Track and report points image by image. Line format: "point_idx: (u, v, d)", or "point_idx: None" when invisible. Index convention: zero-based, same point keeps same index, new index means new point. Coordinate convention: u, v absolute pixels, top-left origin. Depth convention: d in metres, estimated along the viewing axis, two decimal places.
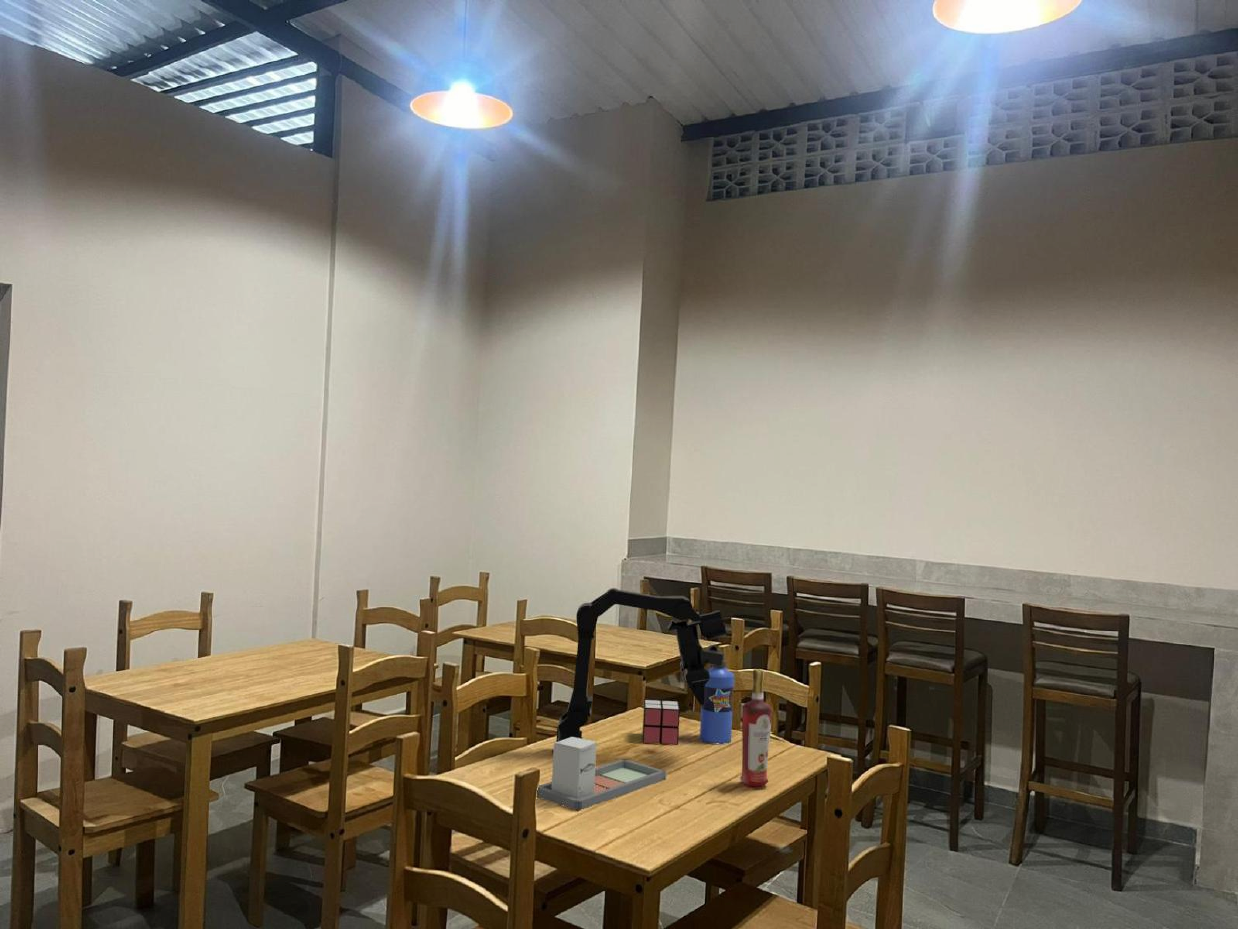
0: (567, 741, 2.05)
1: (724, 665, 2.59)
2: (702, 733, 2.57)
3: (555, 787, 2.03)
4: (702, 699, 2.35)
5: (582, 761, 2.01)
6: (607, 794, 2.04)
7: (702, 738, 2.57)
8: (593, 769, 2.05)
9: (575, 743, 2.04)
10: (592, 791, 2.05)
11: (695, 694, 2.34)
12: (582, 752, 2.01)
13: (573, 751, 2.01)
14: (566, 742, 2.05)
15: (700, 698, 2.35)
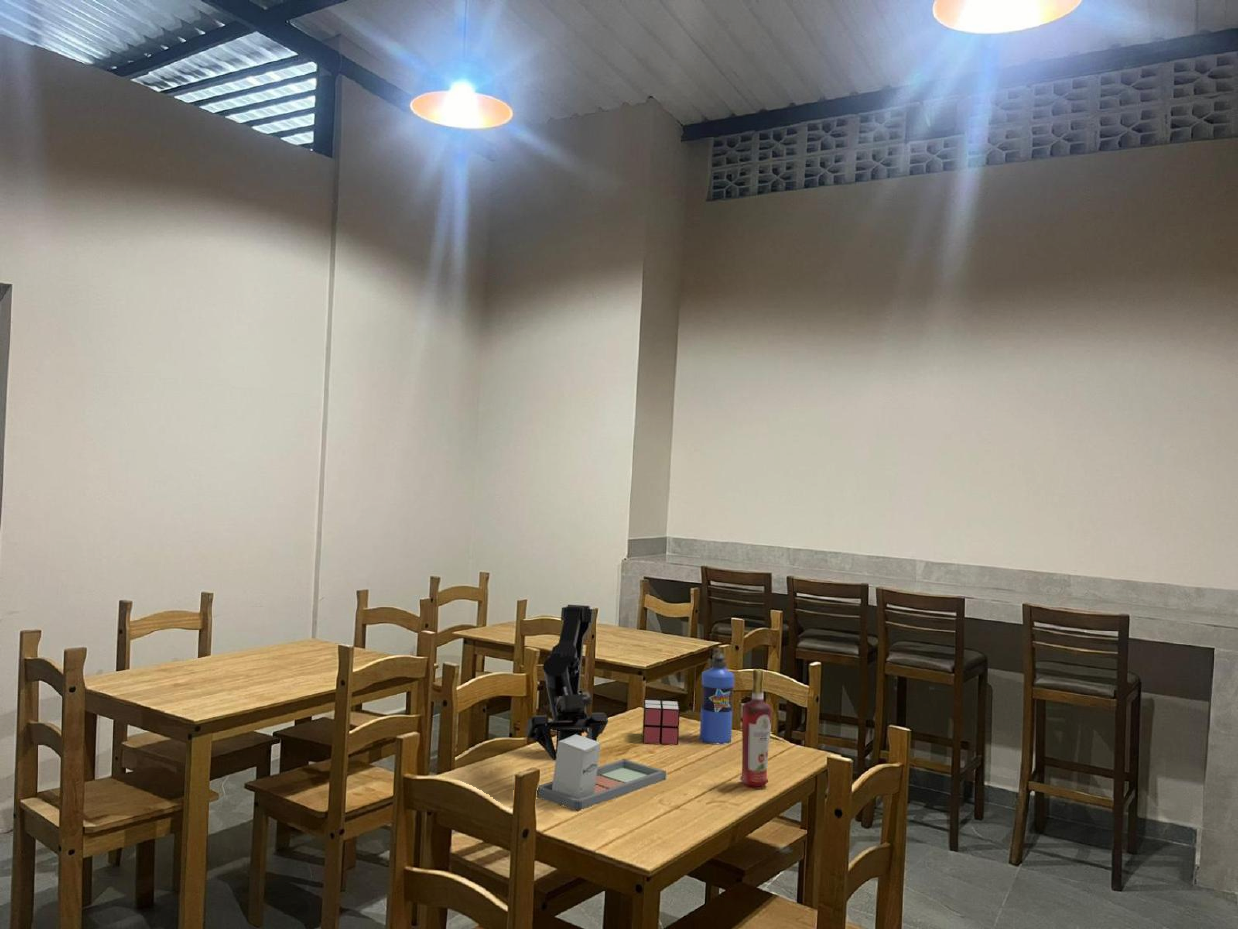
0: (571, 740, 2.04)
1: (724, 665, 2.59)
2: (702, 733, 2.57)
3: (556, 785, 2.03)
4: (551, 752, 2.04)
5: (586, 762, 2.01)
6: (607, 794, 2.04)
7: (702, 738, 2.57)
8: (595, 769, 2.05)
9: (579, 744, 2.03)
10: (592, 790, 2.05)
11: (546, 749, 2.06)
12: (586, 754, 2.00)
13: (577, 752, 2.00)
14: (570, 741, 2.04)
15: (550, 752, 2.04)
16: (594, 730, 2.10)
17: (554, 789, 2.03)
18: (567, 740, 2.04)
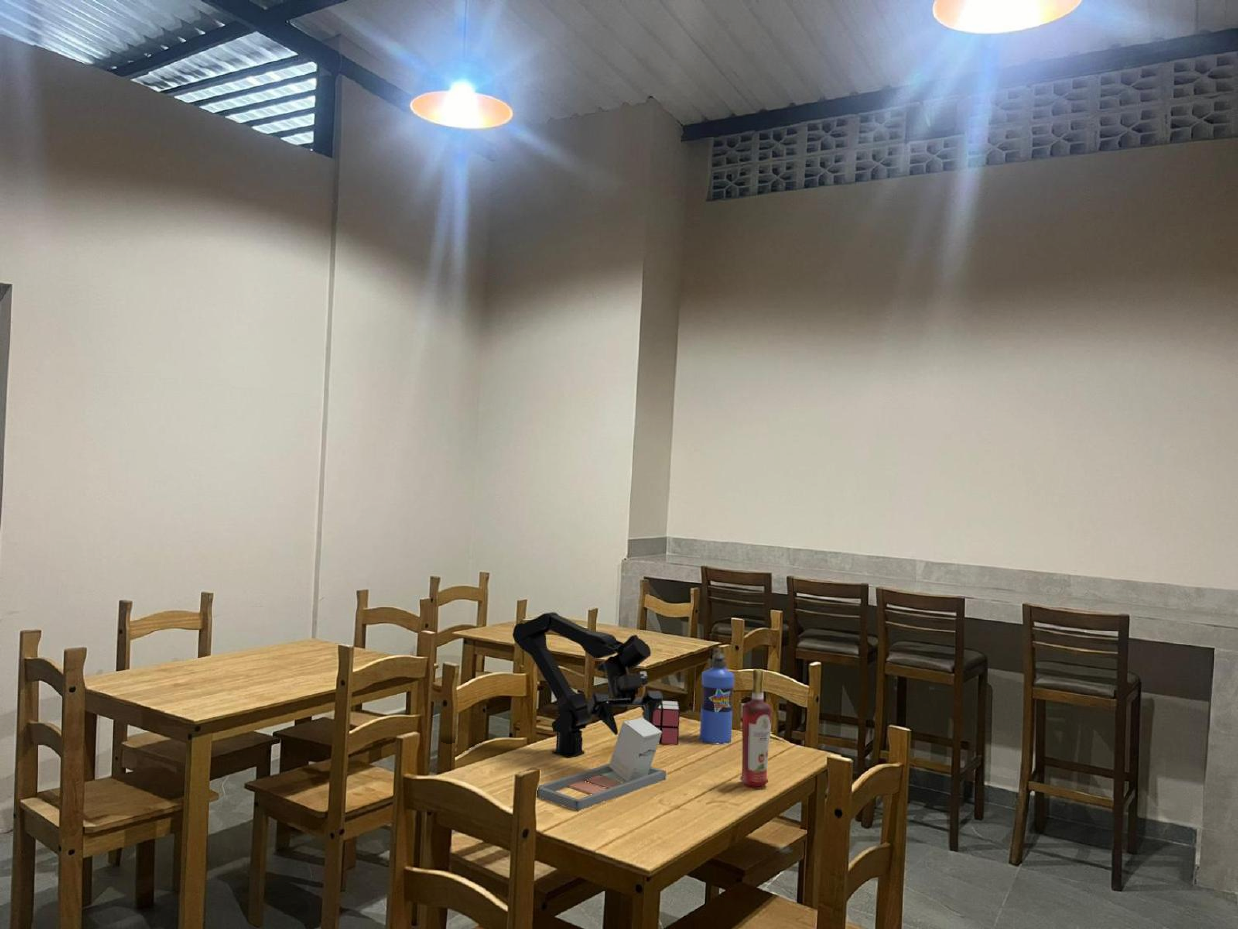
0: (635, 723, 2.19)
1: (724, 665, 2.59)
2: (702, 733, 2.57)
3: (614, 759, 2.19)
4: (613, 728, 2.19)
5: (643, 747, 2.15)
6: (607, 794, 2.04)
7: (702, 738, 2.57)
8: (652, 754, 2.19)
9: (641, 729, 2.17)
10: (647, 772, 2.20)
11: (607, 725, 2.21)
12: (644, 740, 2.14)
13: (637, 736, 2.15)
14: (634, 724, 2.18)
15: (612, 727, 2.19)
16: (651, 707, 2.24)
17: (612, 762, 2.20)
18: (631, 722, 2.19)
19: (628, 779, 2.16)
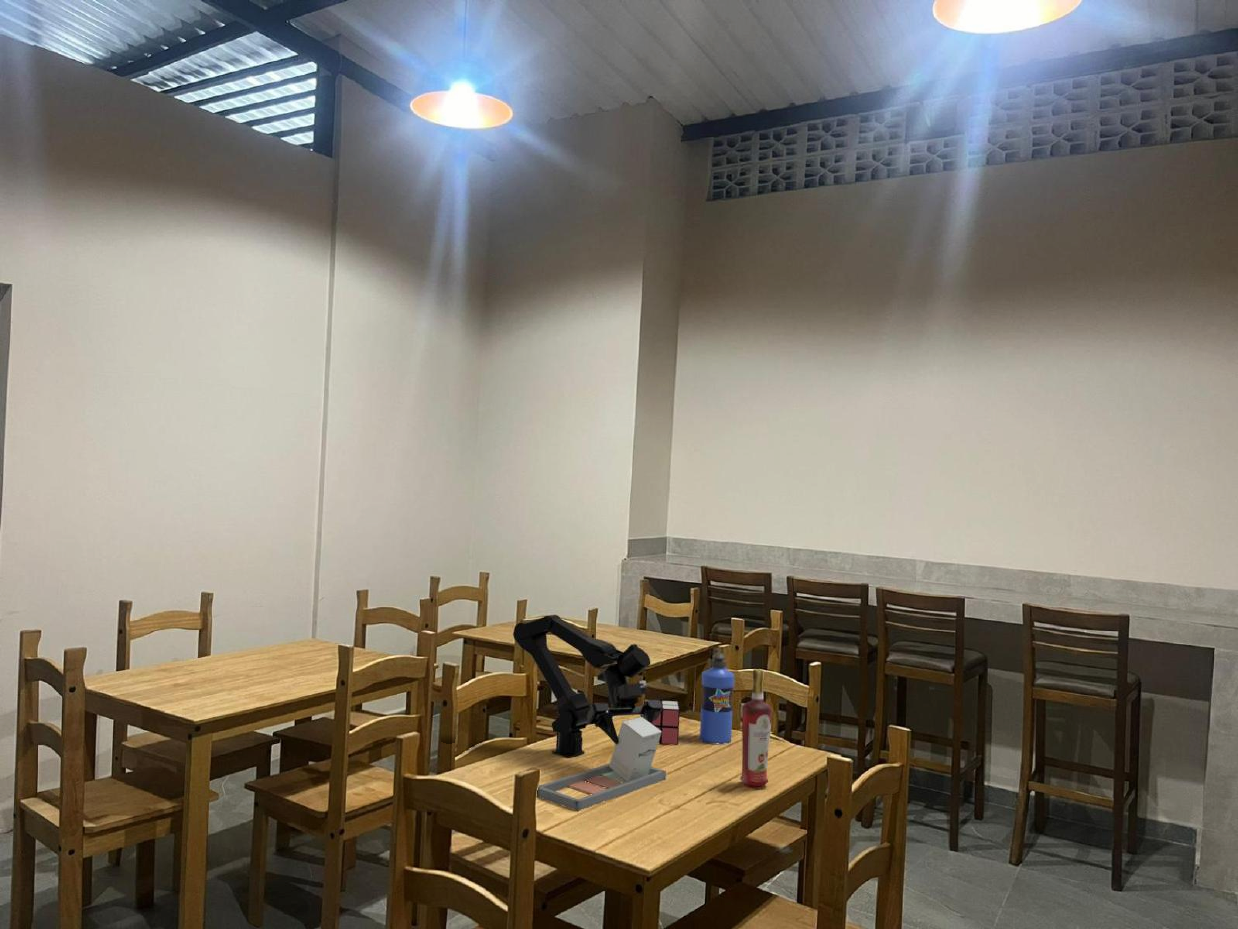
0: (635, 723, 2.18)
1: (724, 665, 2.59)
2: (702, 733, 2.57)
3: (614, 759, 2.19)
4: (613, 737, 2.19)
5: (643, 747, 2.15)
6: (607, 794, 2.04)
7: (702, 738, 2.57)
8: (652, 754, 2.19)
9: (641, 729, 2.17)
10: (647, 771, 2.20)
11: (608, 734, 2.21)
12: (644, 740, 2.14)
13: (637, 736, 2.14)
14: (633, 724, 2.18)
15: (613, 737, 2.19)
16: (649, 716, 2.24)
17: (612, 762, 2.20)
18: (631, 722, 2.18)
19: (628, 779, 2.16)
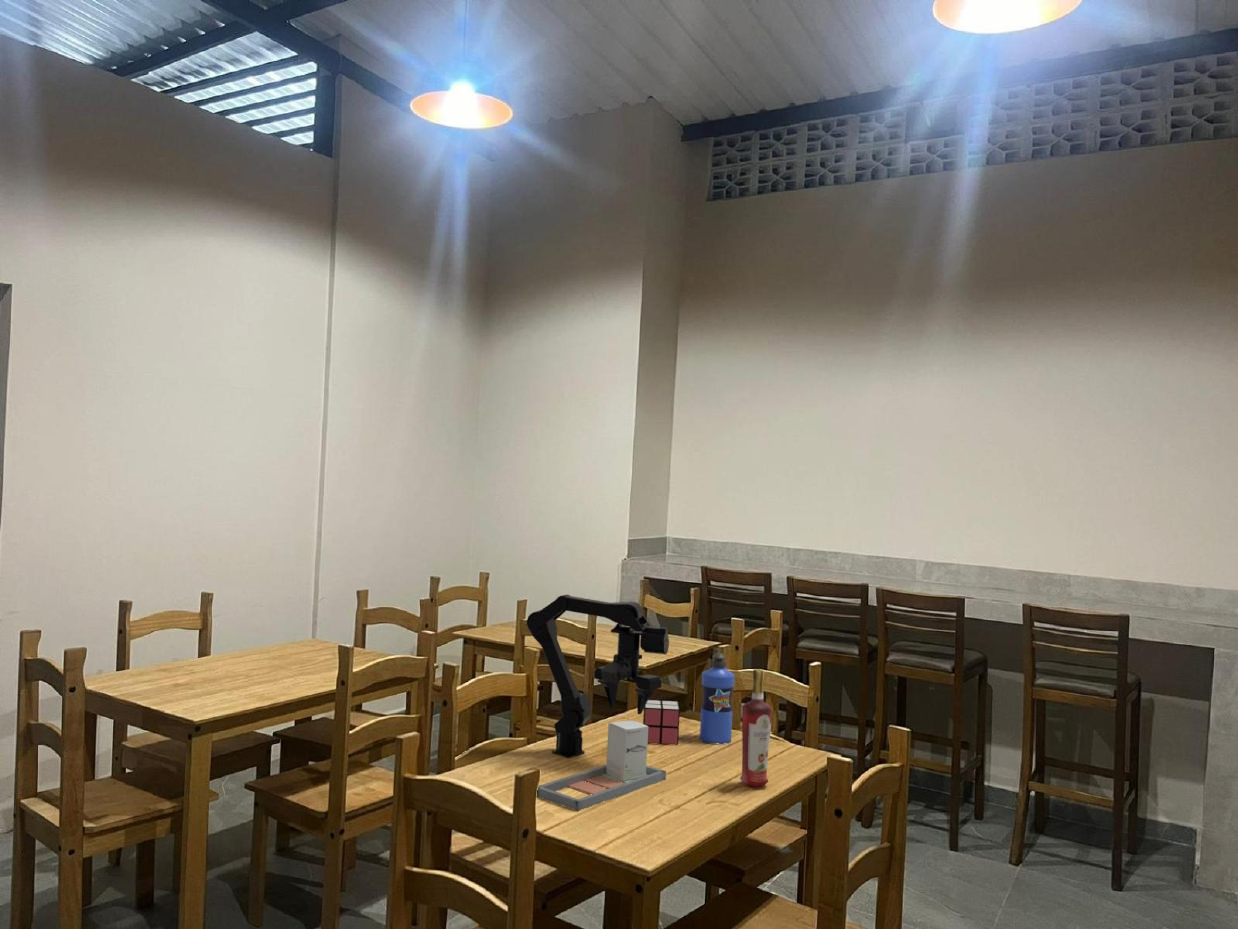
0: (621, 722, 2.22)
1: (724, 665, 2.59)
2: (702, 733, 2.57)
3: (608, 763, 2.21)
4: None
5: (629, 742, 2.17)
6: (607, 794, 2.04)
7: (702, 738, 2.57)
8: (644, 751, 2.20)
9: (626, 725, 2.20)
10: (643, 772, 2.20)
11: None
12: (628, 733, 2.17)
13: (621, 731, 2.18)
14: (620, 723, 2.22)
15: None
16: (638, 693, 2.30)
17: (607, 768, 2.21)
18: (617, 722, 2.22)
19: (622, 778, 2.17)
